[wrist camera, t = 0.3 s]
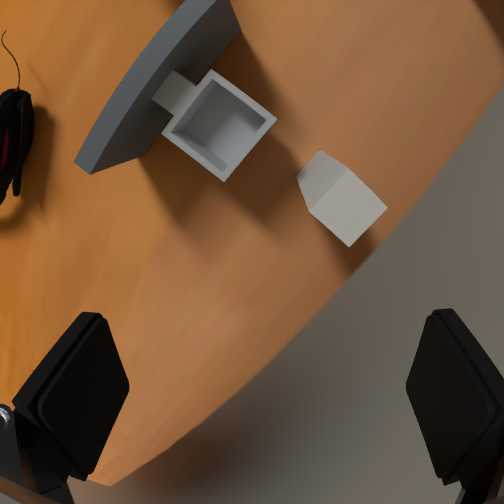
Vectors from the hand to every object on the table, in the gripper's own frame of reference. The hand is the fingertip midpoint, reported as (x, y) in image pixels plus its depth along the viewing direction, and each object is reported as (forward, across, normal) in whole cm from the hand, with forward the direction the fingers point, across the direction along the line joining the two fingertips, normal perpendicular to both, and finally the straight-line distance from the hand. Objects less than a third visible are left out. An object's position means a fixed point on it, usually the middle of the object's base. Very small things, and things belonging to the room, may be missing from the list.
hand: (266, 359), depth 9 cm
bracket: (+28, +7, -9) cm, 31 cm away
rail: (+28, -6, 0) cm, 29 cm away
